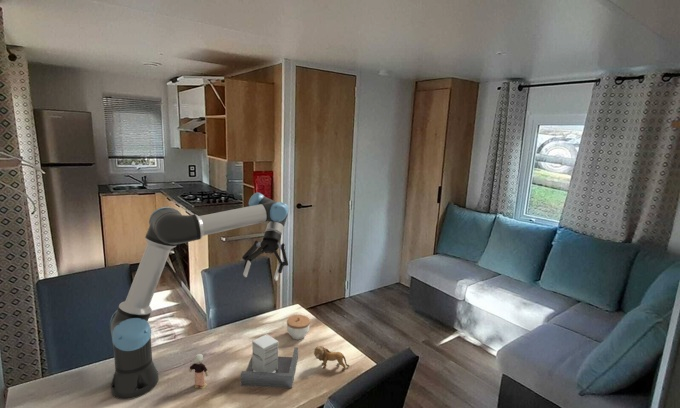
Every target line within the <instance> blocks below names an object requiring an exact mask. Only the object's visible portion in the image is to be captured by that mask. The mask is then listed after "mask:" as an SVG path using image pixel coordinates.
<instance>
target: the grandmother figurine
mask: <svg viewBox="0 0 680 408" xmlns="http://www.w3.org/2000/svg"><path fill="white" fill-rule="evenodd" d="M203 359H204V355H203V354H202V353H197V354H196V355H195V356H194V358H193V361H192V362H193V363H192V364H191V365H190V366H189V369H188V372H189V373H191V372H192V371H194V383H195V385H194V389H198V388H200V389H202V390H203V389H205V388H207V387H208V383H206V379H205V376H206V377H208V376H209V371H208V368H207V367H206V365H205V364H204V363H203V361H204V360H203Z"/></svg>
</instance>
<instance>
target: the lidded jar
mask: <svg viewBox="0 0 680 408" xmlns="http://www.w3.org/2000/svg"><path fill="white" fill-rule="evenodd" d="M310 325H311V319H310V318H309V317H308V316H306V315H302V314H296V315H291V316H289V317H288V318H287V319H286V328H287V329H286V330H287V332H288V335H289V336H291V338H292V339H294V340H302V339H304V338H305V337H306V336H308V333H309V331H310Z"/></svg>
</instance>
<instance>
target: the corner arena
mask: <svg viewBox="0 0 680 408" xmlns="http://www.w3.org/2000/svg"><path fill="white" fill-rule="evenodd" d="M298 360H299V347H294V349H293V354H292V357H291V356H278V369H277V370H276V371H274V372H256V371H255V370H253V369H252V358H251V359H250V361H249V364H248V366H247V368H246V370H241V372H240V386H241V387H259V388H260V387H262V388H280V389H281V388H282V389H283V388H284V389H285V388H286V389H292V388H293V384H294V380H295V374H296V369H297V365H298Z"/></svg>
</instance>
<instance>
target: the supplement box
mask: <svg viewBox="0 0 680 408" xmlns="http://www.w3.org/2000/svg"><path fill="white" fill-rule="evenodd" d="M278 357H279V340H277V339H276V338H274V337H272V336H271V335H270V334H268V333H267V334H264V335H262V336H260V337H257V338H256V339H253V340H252V357H251V359H252V369H253V370H255V371H256V372H274V371H276V370H277V369H278Z"/></svg>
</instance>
